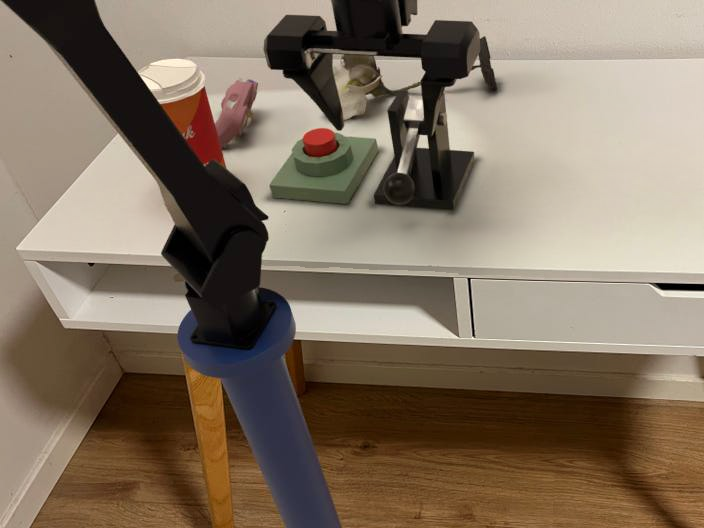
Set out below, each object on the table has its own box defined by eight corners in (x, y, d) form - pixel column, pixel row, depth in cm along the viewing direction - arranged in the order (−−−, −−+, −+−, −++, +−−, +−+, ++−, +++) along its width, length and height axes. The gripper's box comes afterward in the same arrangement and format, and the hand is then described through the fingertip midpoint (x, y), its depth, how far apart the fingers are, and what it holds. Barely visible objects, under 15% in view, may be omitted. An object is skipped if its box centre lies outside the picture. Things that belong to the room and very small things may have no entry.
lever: (414, 212, 81) (407, 194, 78) (384, 209, 81) (376, 191, 78) (438, 117, 85) (432, 97, 82) (409, 115, 86) (403, 95, 83)
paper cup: (158, 199, 90) (109, 83, 80) (203, 165, 94) (162, 51, 84) (210, 215, 87) (166, 97, 77) (254, 179, 91) (218, 63, 81)
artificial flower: (503, 111, 101) (493, 49, 93) (335, 145, 103) (308, 87, 94) (495, 63, 106) (484, -1, 97) (333, 96, 107) (308, 36, 99)
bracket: (453, 210, 85) (445, 128, 78) (374, 203, 87) (359, 123, 80) (474, 160, 92) (469, 80, 84) (401, 155, 93) (389, 76, 86)
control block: (347, 204, 87) (341, 177, 84) (272, 197, 89) (264, 170, 86) (378, 151, 94) (373, 124, 92) (308, 145, 96) (302, 119, 93)
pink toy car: (238, 161, 97) (250, 113, 93) (201, 147, 96) (211, 99, 91) (256, 120, 104) (267, 74, 99) (221, 107, 103) (231, 60, 98)
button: (331, 159, 88) (328, 145, 86) (301, 157, 88) (297, 143, 87) (342, 142, 90) (339, 128, 89) (312, 140, 91) (309, 126, 89)
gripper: (488, -70, 69) (495, 96, 80) (290, -73, 72) (324, 87, 84) (459, -21, 61) (471, 155, 73) (240, -27, 65) (284, 142, 76)
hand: (385, 131), depth 76 cm, fingers open, 9 cm apart
